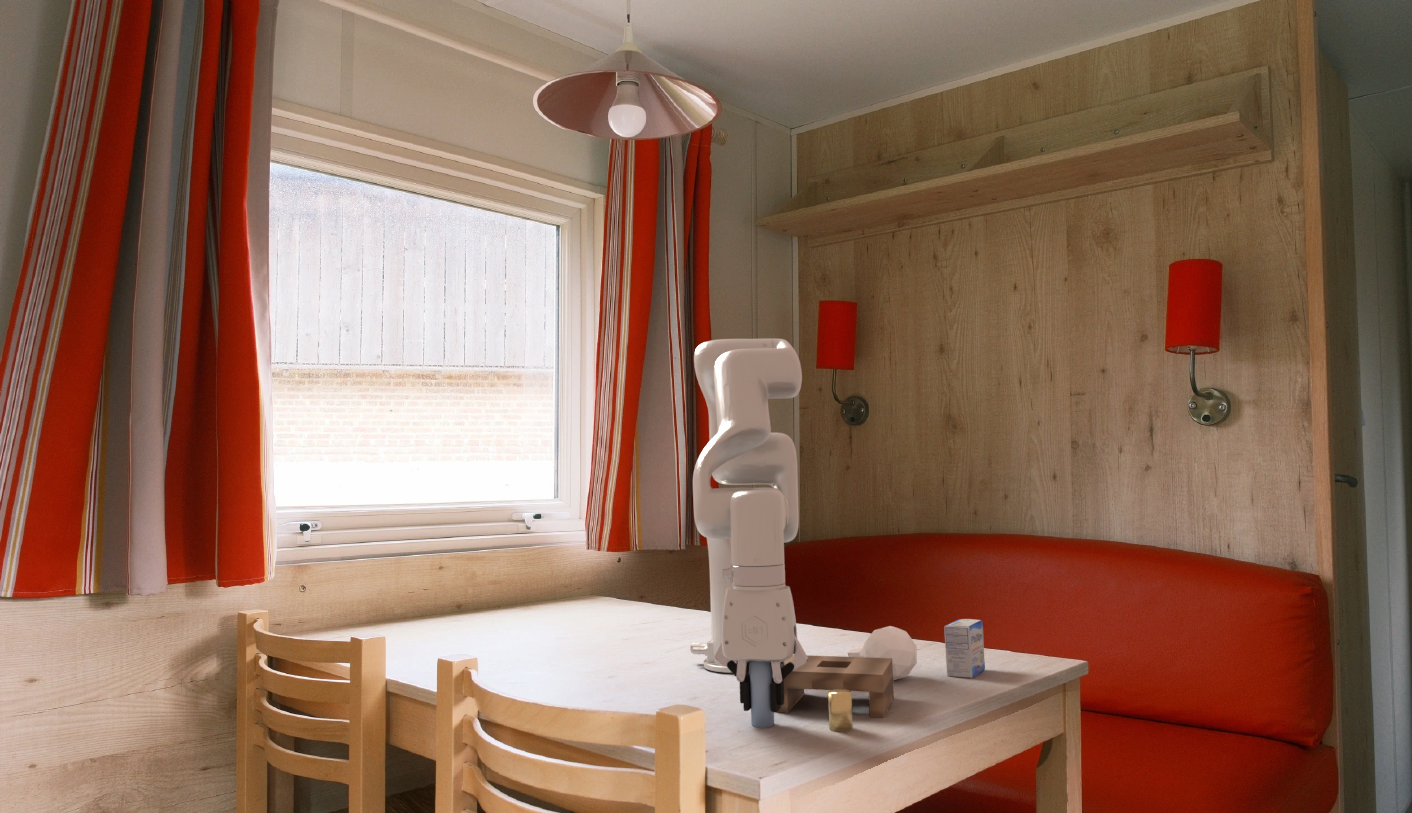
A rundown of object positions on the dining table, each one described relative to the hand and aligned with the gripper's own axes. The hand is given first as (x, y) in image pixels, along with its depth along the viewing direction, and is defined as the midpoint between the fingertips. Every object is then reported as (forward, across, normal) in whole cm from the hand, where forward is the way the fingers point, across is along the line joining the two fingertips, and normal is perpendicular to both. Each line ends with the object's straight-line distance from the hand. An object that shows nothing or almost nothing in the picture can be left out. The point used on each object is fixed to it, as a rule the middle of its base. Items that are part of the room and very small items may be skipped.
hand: (762, 707), depth 132 cm
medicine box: (+3, +26, +39) cm, 47 cm away
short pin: (+2, +11, 0) cm, 11 cm away
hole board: (+2, +8, +13) cm, 15 cm away
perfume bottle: (+2, +13, +33) cm, 36 cm away
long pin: (+2, 0, 0) cm, 2 cm away
